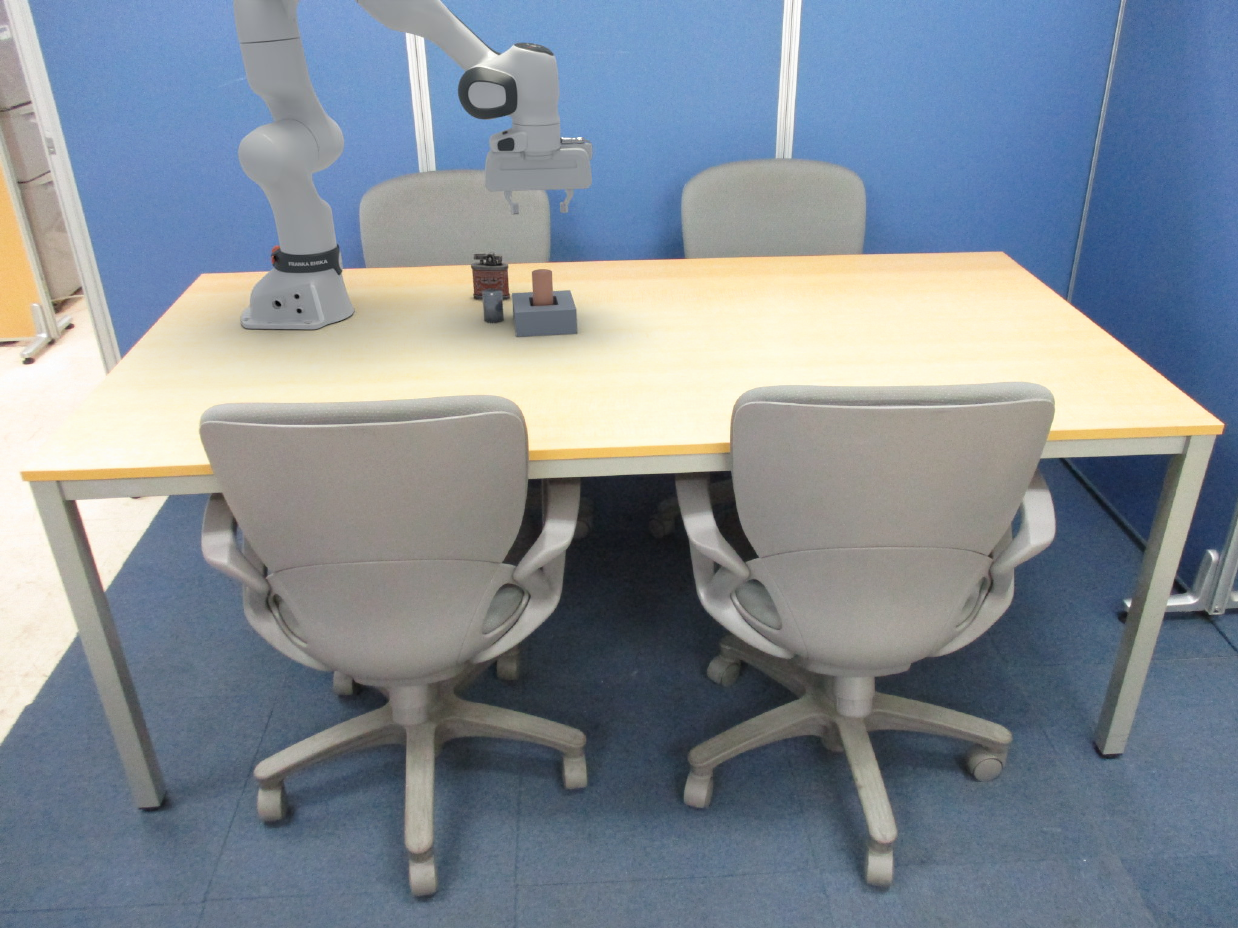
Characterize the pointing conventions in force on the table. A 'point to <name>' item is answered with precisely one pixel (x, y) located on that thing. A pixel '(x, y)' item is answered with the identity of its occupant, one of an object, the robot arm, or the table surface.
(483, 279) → the lighter
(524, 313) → the bore block
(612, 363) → the table surface
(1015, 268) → the table surface
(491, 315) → the short pin
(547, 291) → the long pin
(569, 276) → the table surface
